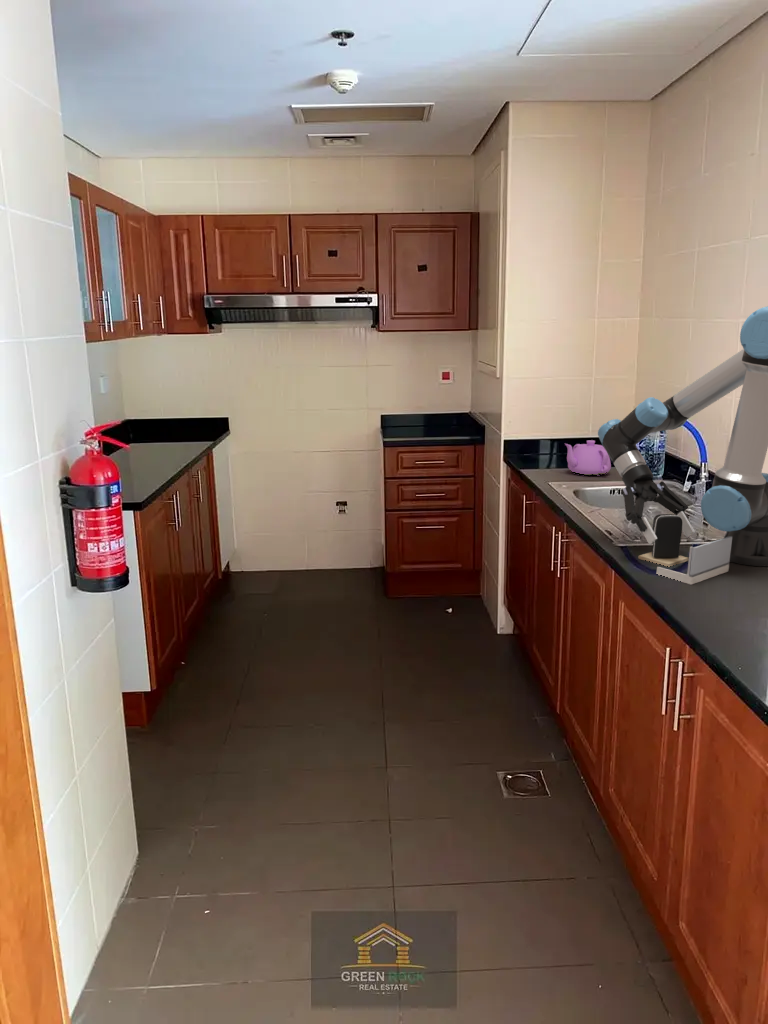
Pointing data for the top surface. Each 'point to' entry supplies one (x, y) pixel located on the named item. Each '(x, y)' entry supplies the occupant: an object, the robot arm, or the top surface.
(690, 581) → the legged metal plate
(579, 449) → the teapot
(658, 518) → the battery charger
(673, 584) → the top surface
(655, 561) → the oak pad
